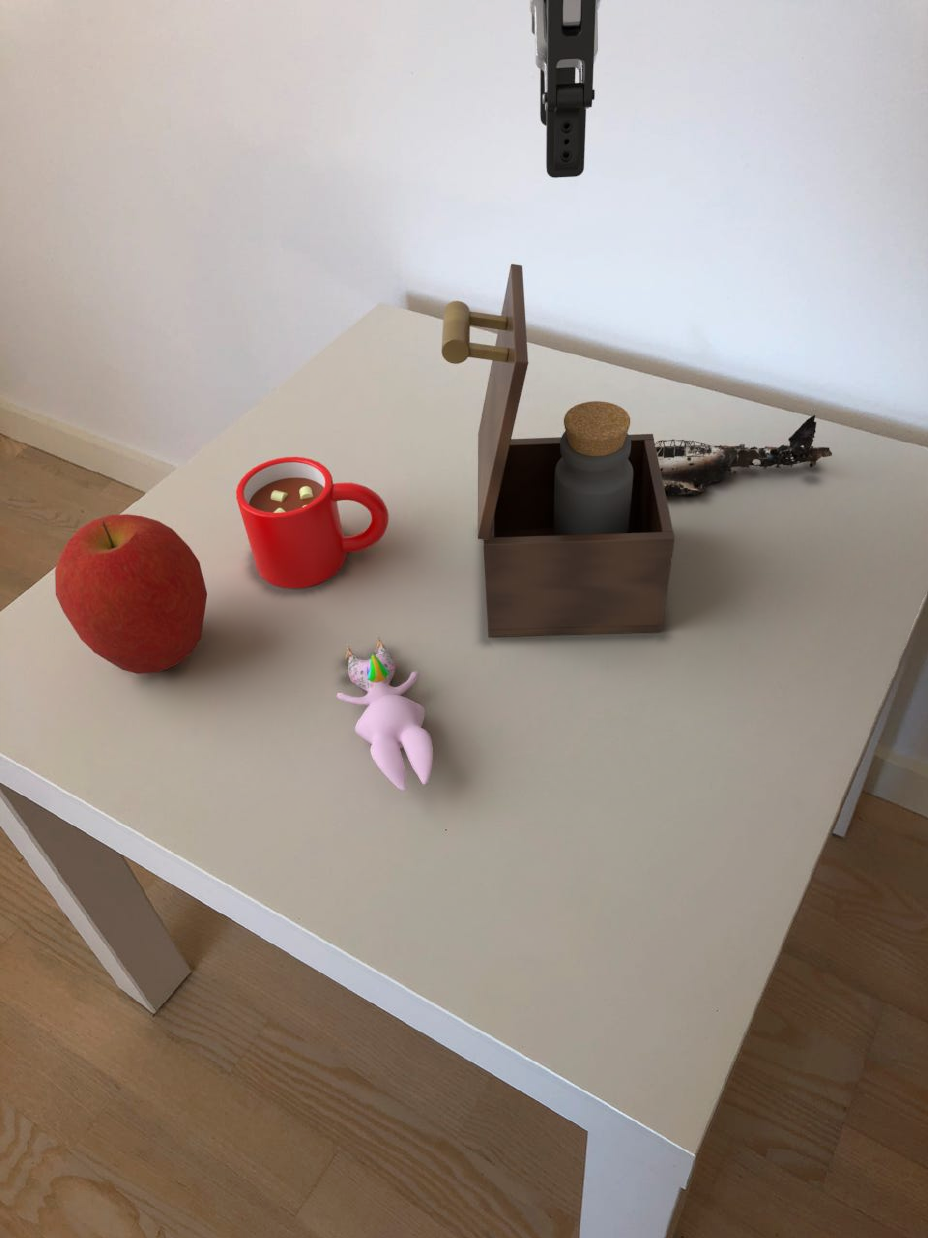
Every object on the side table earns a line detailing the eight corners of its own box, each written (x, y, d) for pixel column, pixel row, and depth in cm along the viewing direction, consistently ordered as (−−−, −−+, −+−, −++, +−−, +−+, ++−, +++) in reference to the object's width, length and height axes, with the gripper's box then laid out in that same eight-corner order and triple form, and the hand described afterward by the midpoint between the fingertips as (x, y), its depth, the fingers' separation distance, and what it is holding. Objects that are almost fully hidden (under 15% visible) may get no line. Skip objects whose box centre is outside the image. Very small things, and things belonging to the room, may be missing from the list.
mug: (395, 578, 80) (384, 506, 74) (253, 592, 80) (231, 521, 74) (391, 518, 85) (381, 446, 80) (258, 531, 85) (239, 460, 79)
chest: (642, 526, 83) (653, 433, 76) (661, 632, 74) (675, 538, 67) (487, 531, 83) (483, 439, 76) (488, 637, 75) (483, 544, 68)
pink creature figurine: (330, 681, 74) (373, 818, 62) (315, 621, 71) (357, 755, 59) (407, 659, 75) (463, 790, 64) (395, 599, 72) (453, 727, 60)
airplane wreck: (839, 484, 85) (854, 433, 81) (634, 503, 85) (639, 453, 81) (817, 446, 89) (830, 396, 85) (622, 464, 89) (626, 414, 85)
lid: (522, 264, 65) (449, 253, 65) (528, 362, 57) (444, 351, 56) (487, 435, 76) (424, 427, 75) (488, 540, 67) (417, 532, 67)
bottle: (606, 541, 80) (617, 388, 70) (636, 586, 76) (652, 431, 66) (542, 558, 79) (543, 406, 68) (569, 604, 75) (574, 451, 65)
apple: (246, 620, 77) (203, 486, 67) (186, 714, 71) (128, 582, 61) (137, 597, 80) (79, 465, 70) (69, 686, 73) (-5, 555, 63)
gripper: (659, -173, 43) (633, 191, 54) (626, -211, 53) (610, 104, 64) (493, -161, 43) (502, 198, 55) (491, -202, 53) (499, 110, 65)
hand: (560, 147), depth 60 cm, fingers open, 8 cm apart
